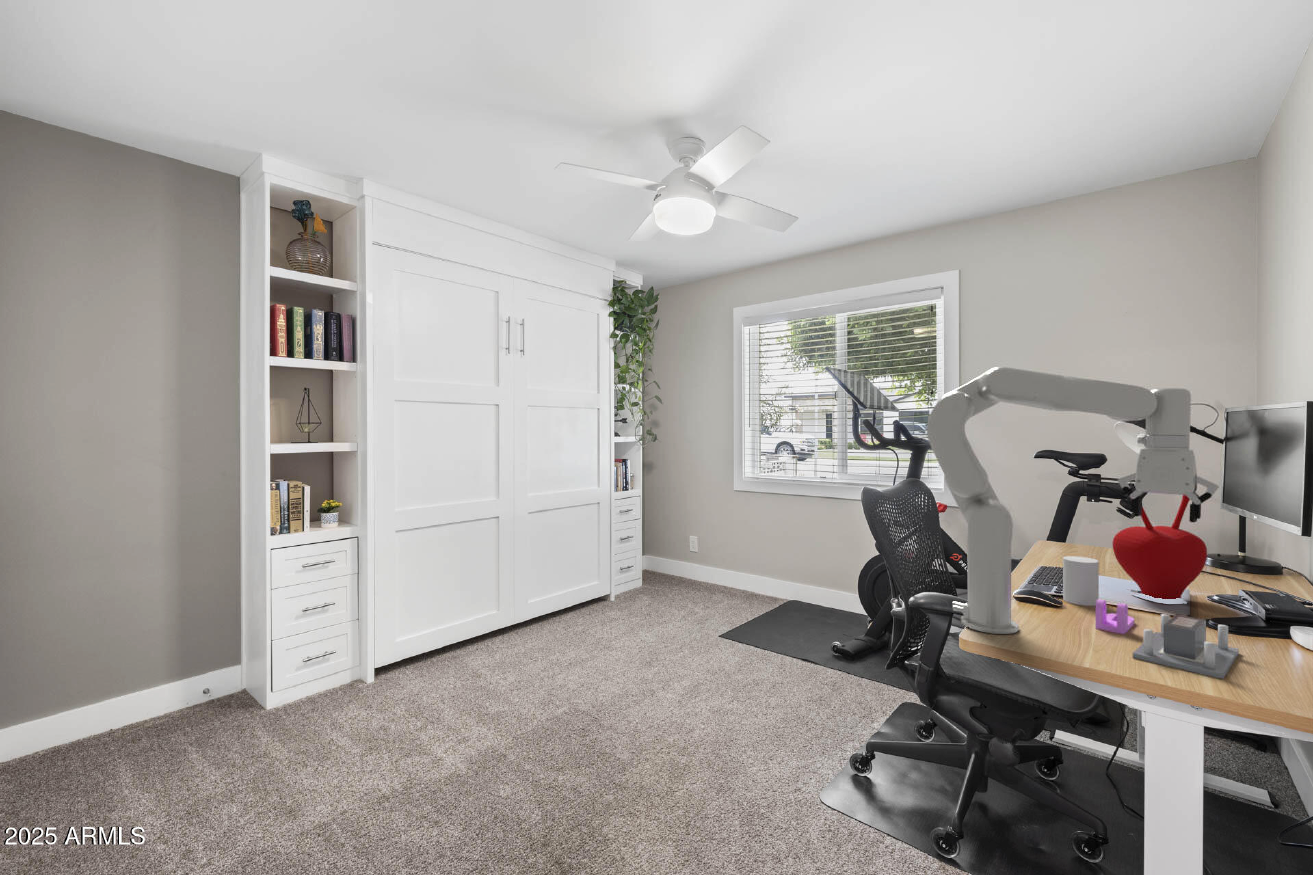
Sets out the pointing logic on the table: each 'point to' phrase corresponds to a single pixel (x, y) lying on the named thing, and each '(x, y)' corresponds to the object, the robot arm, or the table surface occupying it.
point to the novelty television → (1161, 556)
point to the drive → (1184, 636)
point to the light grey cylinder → (1080, 580)
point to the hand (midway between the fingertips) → (1164, 518)
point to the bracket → (1113, 618)
